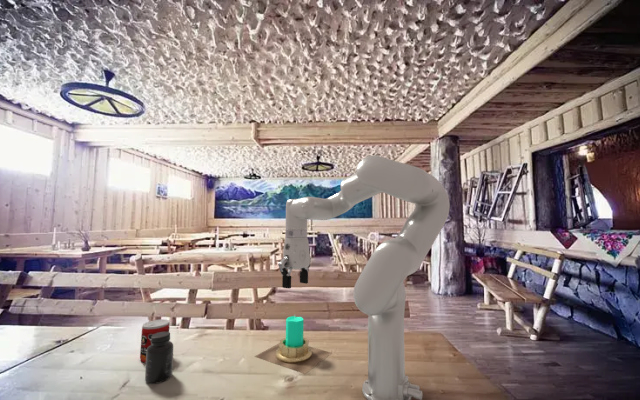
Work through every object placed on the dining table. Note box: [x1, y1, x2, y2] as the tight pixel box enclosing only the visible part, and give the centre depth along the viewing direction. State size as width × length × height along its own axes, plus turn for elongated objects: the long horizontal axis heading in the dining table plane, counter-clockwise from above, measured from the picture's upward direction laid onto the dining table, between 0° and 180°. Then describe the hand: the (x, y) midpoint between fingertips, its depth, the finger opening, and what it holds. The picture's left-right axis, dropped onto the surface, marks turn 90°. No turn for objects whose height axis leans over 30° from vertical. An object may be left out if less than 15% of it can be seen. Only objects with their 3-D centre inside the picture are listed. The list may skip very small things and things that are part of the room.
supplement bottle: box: [144, 331, 174, 385], centre depth 80 cm, size 7×7×12 cm
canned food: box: [139, 318, 171, 363], centre depth 92 cm, size 8×8×11 cm
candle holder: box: [276, 337, 312, 363], centre depth 91 cm, size 12×12×4 cm
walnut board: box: [254, 343, 332, 375], centre depth 91 cm, size 20×16×2 cm
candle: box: [285, 315, 304, 347], centre depth 92 cm, size 6×6×12 cm
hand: (295, 285), depth 93 cm, fingers open, 9 cm apart
